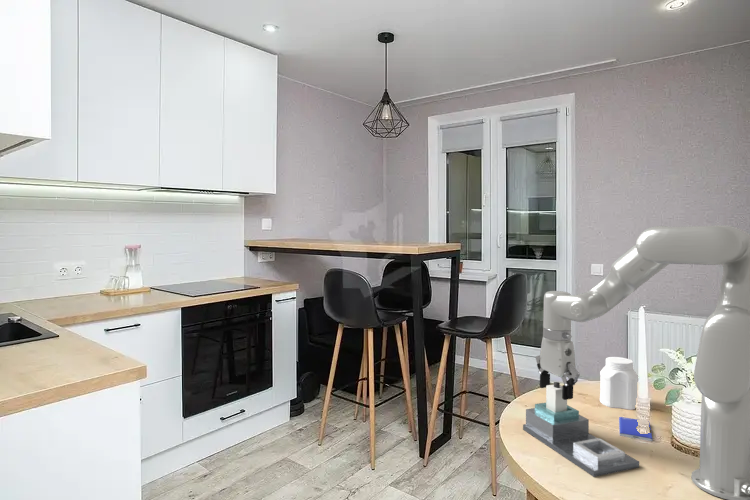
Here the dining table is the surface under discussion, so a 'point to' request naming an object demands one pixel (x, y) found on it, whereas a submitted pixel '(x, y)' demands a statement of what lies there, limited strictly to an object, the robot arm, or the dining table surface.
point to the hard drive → (632, 429)
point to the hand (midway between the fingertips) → (555, 392)
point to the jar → (618, 383)
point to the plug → (555, 398)
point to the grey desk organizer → (576, 440)
